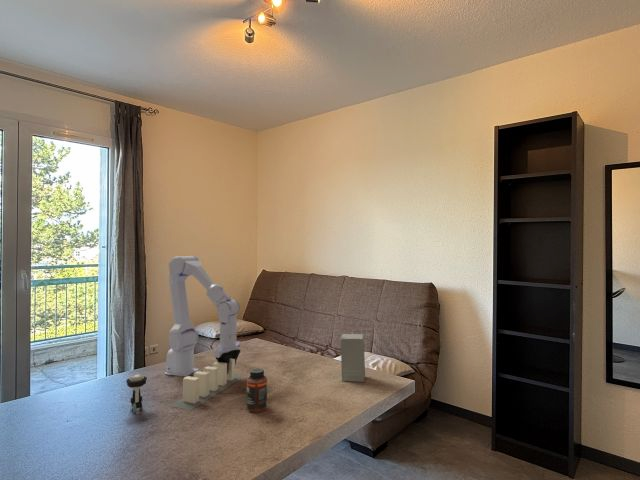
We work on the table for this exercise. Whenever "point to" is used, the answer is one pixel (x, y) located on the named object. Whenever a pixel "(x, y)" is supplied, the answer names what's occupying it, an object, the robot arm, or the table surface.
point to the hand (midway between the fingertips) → (227, 372)
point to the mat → (202, 399)
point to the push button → (136, 390)
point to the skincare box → (353, 357)
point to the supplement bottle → (256, 391)
